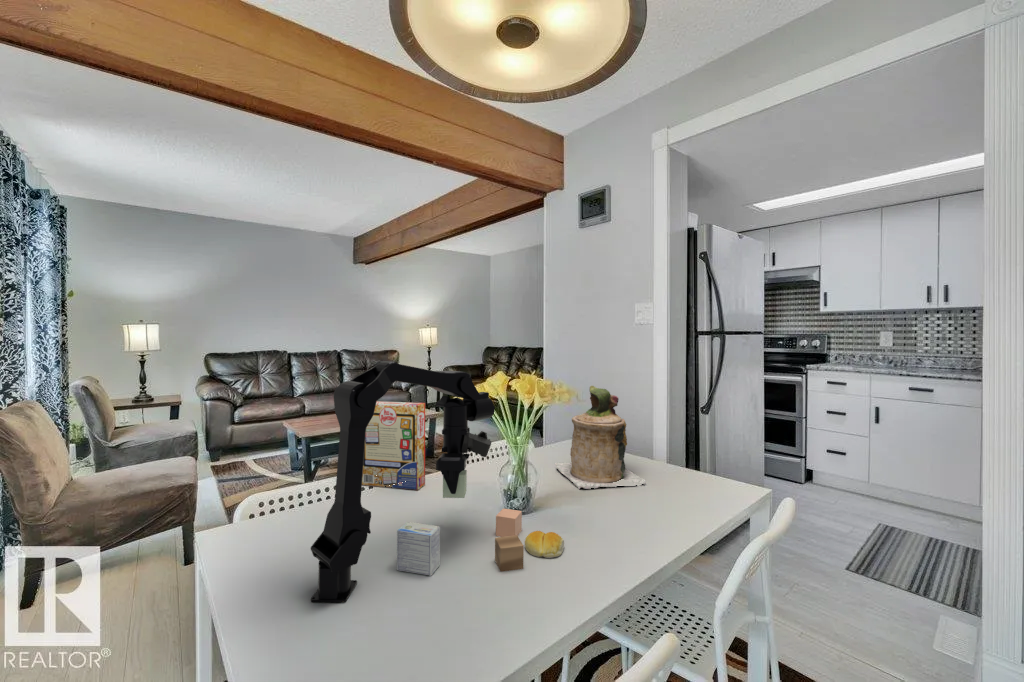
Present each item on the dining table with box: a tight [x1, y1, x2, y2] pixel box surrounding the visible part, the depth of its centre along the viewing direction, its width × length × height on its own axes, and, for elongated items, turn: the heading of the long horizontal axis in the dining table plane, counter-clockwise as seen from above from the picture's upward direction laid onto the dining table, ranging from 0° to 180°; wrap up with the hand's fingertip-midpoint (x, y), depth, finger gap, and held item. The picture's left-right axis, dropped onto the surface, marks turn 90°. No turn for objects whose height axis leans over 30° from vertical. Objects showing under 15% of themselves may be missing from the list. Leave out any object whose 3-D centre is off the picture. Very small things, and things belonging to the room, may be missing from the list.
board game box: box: [362, 400, 426, 491], centre depth 143 cm, size 20×6×27 cm, turn 77°
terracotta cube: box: [495, 508, 523, 537], centre depth 109 cm, size 5×5×5 cm
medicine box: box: [396, 521, 441, 577], centre depth 92 cm, size 8×4×9 cm, turn 74°
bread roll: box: [524, 530, 565, 559], centre depth 101 cm, size 8×9×4 cm
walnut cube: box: [494, 535, 525, 573], centre depth 94 cm, size 5×5×5 cm
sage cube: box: [442, 469, 468, 499], centre depth 104 cm, size 5×5×5 cm
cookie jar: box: [554, 385, 646, 490], centre depth 154 cm, size 25×25×32 cm
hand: (454, 489), depth 104 cm, fingers closed on sage cube, 5 cm apart
